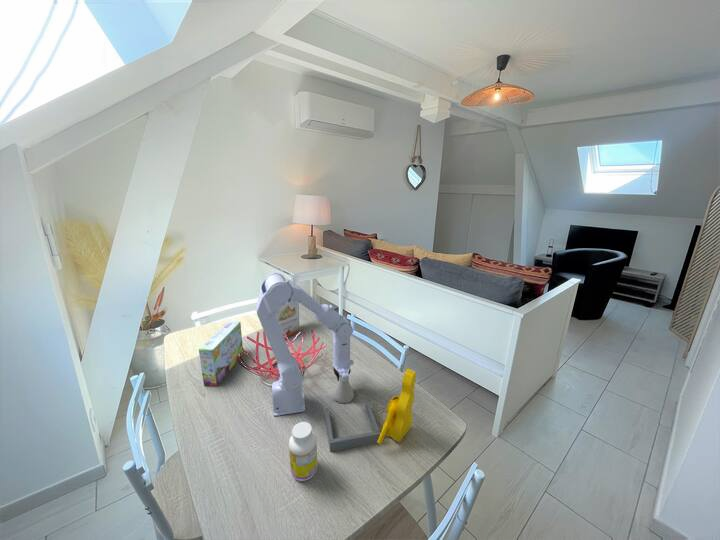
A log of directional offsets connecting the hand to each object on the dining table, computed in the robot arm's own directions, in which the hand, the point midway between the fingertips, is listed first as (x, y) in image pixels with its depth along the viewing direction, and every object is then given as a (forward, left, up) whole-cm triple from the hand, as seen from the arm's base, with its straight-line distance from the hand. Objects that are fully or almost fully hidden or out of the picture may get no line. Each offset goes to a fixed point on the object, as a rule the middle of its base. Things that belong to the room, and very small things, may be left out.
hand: (341, 385), depth 98 cm
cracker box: (-20, +43, -2) cm, 47 cm away
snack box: (-42, +22, -2) cm, 47 cm away
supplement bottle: (-14, -26, -2) cm, 30 cm away
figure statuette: (+13, -21, -2) cm, 25 cm away
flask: (0, -3, -2) cm, 4 cm away
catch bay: (0, -16, -2) cm, 17 cm away
